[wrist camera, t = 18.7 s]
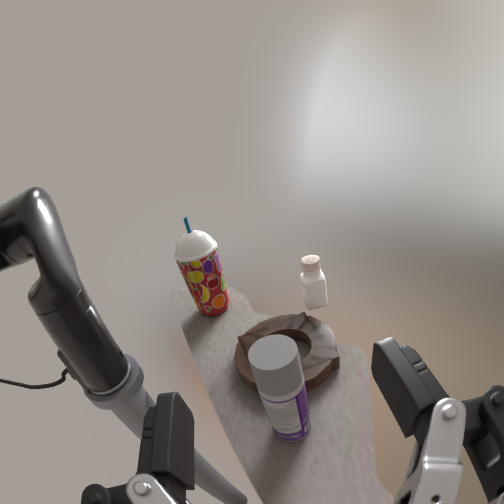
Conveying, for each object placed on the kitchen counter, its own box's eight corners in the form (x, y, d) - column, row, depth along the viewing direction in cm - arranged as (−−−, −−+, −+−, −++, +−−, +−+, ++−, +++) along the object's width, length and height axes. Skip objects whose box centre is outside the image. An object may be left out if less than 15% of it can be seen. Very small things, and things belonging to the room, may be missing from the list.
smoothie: (201, 298, 63) (172, 214, 54) (236, 293, 61) (211, 206, 53) (192, 322, 55) (156, 231, 47) (231, 318, 54) (201, 221, 45)
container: (292, 406, 33) (274, 326, 27) (318, 425, 30) (310, 347, 23) (266, 428, 31) (236, 353, 24) (291, 449, 27) (269, 380, 21)
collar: (254, 411, 34) (250, 402, 33) (229, 344, 47) (225, 334, 46) (354, 369, 36) (355, 358, 35) (310, 314, 50) (308, 303, 49)
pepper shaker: (328, 306, 50) (324, 261, 46) (307, 311, 50) (301, 267, 46) (322, 294, 54) (318, 251, 50) (303, 299, 54) (296, 256, 50)
